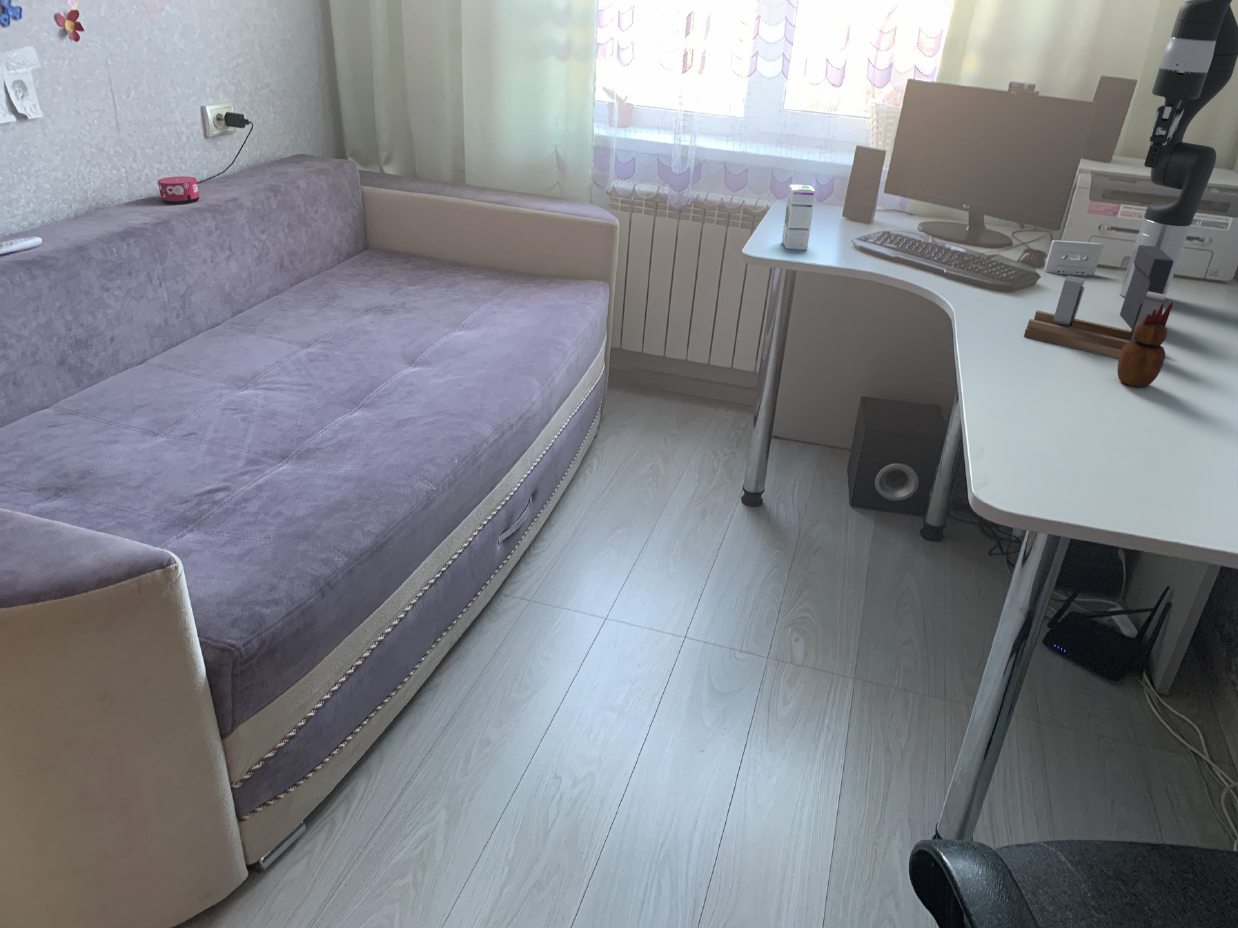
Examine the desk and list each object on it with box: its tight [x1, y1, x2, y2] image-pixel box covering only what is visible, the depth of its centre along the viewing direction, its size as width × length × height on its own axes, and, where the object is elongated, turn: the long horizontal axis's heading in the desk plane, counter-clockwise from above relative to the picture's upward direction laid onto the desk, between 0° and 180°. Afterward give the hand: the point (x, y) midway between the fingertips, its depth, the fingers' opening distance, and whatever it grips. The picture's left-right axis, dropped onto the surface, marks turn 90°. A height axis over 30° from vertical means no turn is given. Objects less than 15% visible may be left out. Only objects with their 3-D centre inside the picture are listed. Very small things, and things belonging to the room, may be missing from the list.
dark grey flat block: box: [1119, 245, 1174, 329], centre depth 190 cm, size 11×4×15 cm, turn 168°
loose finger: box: [1052, 275, 1086, 328], centre depth 181 cm, size 4×3×10 cm
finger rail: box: [1023, 291, 1166, 359], centre depth 179 cm, size 10×23×12 cm, turn 57°
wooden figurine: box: [1116, 301, 1174, 388], centre depth 161 cm, size 7×6×15 cm
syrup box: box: [781, 184, 816, 251], centre depth 229 cm, size 6×6×14 cm
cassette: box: [1043, 239, 1104, 276], centre depth 224 cm, size 12×2×8 cm, turn 89°
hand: (1153, 164), depth 170 cm, fingers open, 8 cm apart
